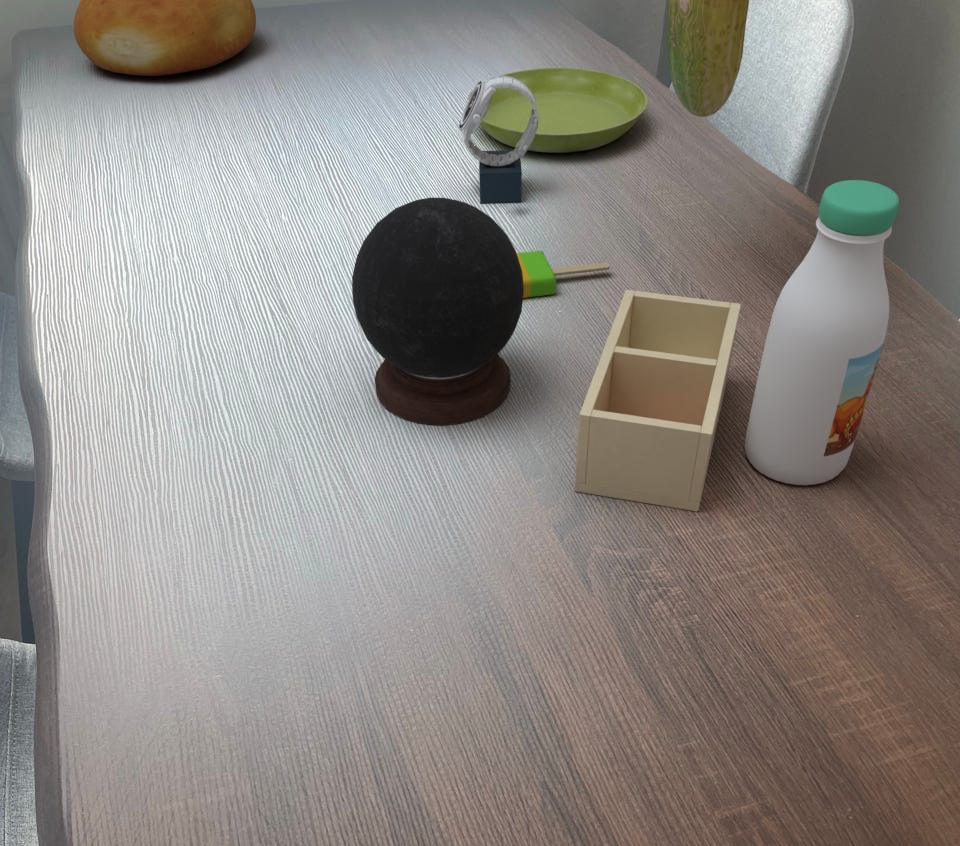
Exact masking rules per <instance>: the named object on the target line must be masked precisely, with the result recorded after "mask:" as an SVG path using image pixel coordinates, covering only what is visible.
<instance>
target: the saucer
mask: <svg viewBox="0 0 960 846" xmlns="http://www.w3.org/2000/svg"><path fill="white" fill-rule="evenodd" d="M499 76H500V78H501V76H509V77H513V78H516V79H518V80H520V81H521V82H523V83H524V84H525V85H526V86H527V87H528V88H529V89H530V91H531V92H532V94H533V96H534V98H535V101H536V105H537V113H538V118H539V124H538V128H537V131H536V134H535V137H534V139H533V141H532V143H531V145H530V147H529V148H528V150H527V152H528V151H529V152H536V153H548V154H549V153H550V154H552V153H553V154H563V153H565V154H566V153H575V152H584V151H588V150H593V149H597V148H600V147H602V146H605V145H608V144H610V143H612V142H614V141H615V140H617V139H619V138H620V137H622V136H623V135H625V133H626V132H628V131H629V130H630V129H631V128H632V127H633V126H634V125H635V124H636V123H637V121H638V120H639V119H640V118H641V116H642V115H643V113H644V111H645V110H646V108H647V106H648V96H647V93H646V92H645V91H644V90H643V89H642V87H640V85H638V84H636V83H634V82H633V81H631V80H629V79H626V78H624V77H621V76H618V75H615V74H612V73H607V72H604V71H600V70H599V71H598V70H592V69H584V68H575V67H573V68H572V67H545V68H532V69H524V70H518V71H512V72H509V73H505V74H501V75H499ZM503 82H504V81H503ZM472 92H473V90H472V91H470V93H469V94H468V97H467V102H468V99H469V97H470V95H471V94H472ZM467 102H466V103H467ZM532 109H533V107H532V105H531V102H530V101H529V100H528V99H527V98H526V96H525V95H523V94H522V93H520V92H519V90H514V89H511V88H502V87H500V88H496V91H495V93H494V94H493V96H492V99H491V102H490V105H489V108H488V110H487V112H486V115H485V117H484V119H483V121H482V122H481V124H480V126H479V127H481V129H483V130H484V131H485V132H486V133H487V135H489V136H491V137H492V138H493V139H495V140H496V141H498V142H500V143H502V144H504V145H507V146H509V147H512V148H514V149H515V148H516V145H517V143H518V141H519V140H520V138H521V137H522V135H523V133H524V132H525V129H526V127H527V125H528V122H529V119H530V116H531V110H532Z"/></svg>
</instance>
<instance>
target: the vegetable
mask: <svg viewBox="0 0 960 846" xmlns="http://www.w3.org/2000/svg"><path fill="white" fill-rule="evenodd" d="M749 5H750V0H667V57H668V66H669V72H670V79H671V83H672V86H673V87H672V88H673V89H674V93H675V95H676V97H677V99H678V101H679V102H680V103H681V105H682V106H683V108H684V109H685V110H686V111H687V112H688V113H689V114H691V115H693V116H696V117H699V118H707V117H710V116H712V115H713V116H714V114H716V113H717V112H719V111H720V110H721V109H722V108H723V107H724V106H725V104H726V103H727V101H728V100H729V98H730V96H731V95H732V93H733V89H734V86H735V84H736V81H737V79H738V75H739V73H740V69H741V66H742V59H743V54H744V45H745V38H746V37H745V36H746V27H747V19H748V12H749Z"/></svg>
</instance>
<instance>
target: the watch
mask: <svg viewBox="0 0 960 846" xmlns="http://www.w3.org/2000/svg"><path fill="white" fill-rule="evenodd" d="M500 76H501V75H495V76H490V77H488V78H487V79H486V80H484V81H483V80H480V81H478V82H477V84H476V85H475V87H474V88H473V89H472V91H473V92H472V91H471V92H472V94H471V95H470V97H469V96H468V97H469V99H468V98H467V100H468V102H466V104H465V107H464V108H463V111H462V114H461V117H460V121H459V126H458V128H459V130H460V131H463V142H464V145H465V146H466V148H467V150H468V152H469V153H470V155H472V157H473V158H474V159H476V161H478V184H479V185H478V186H479V187H478V188H479V203H480V204H511V203H512V204H513V203H514V204H515V203H522V188H523V187H522V185H523V184H522V183H523V182H522V181H523V180H522V179H523V171H522V170H523V169H522V158H523V157H524V156H525V155H526V153H527V152H528V148H529V147H530V145H531V143H532V141H533V139H534V137H535V134H536V131H537V128H538V124H539V118H538V113H537V105H536V101H535V98H534V96H533V94H532V92H531V91H530V89H529V88H528V87H527V86H526V85H525V84H524V83H523V82H521V81H520V80H518V79H516V78H513V77H509V76H501V78H500ZM503 81H504V82H503ZM500 87H502V88H511V89H514V90H519V92H520V93H522V94H523V95H525V96H526V98H527V99H528V100H529V101H530V102H531V105H532V107H533V109H532V110H531V116H530V119H529V122H528V125H527V127H526V129H525V132H524V133H523V135H522V137H521V138H520V140H519V141H518V143H517V145H516V148H515V147H514V149H501V150H498V149H497V150H481V148H479V147H478V146H477V145H475V143H474V142H473V140H472V139H471V135H472V134H474V133H475V132H476V131H477V130H478V129H479V128H480V127H481V126H480V124H481V122H482V121H483V119H484V117H485V115H486V112H487V110H488V108H489V105H490V102H491V99H492V96H493V94H494V93H495V91H496V88H500Z"/></svg>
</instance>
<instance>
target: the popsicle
mask: <svg viewBox="0 0 960 846" xmlns="http://www.w3.org/2000/svg"><path fill="white" fill-rule="evenodd" d="M516 253H517V256H518V260H519V263H520V266H521V269H522V273H523V284H524V293H523V299H526V298H533V297H541V296H551V295H554V294H555V293H556V290H557V278H556V277H557V276H565V275H566V276H567V275H574V274H575V275H577V274H583V273H593V272H600V271H602V272H603V271H608V270H610V268H611V265H610V263H609V262H607V261H605V262H596V263H586V264H579V265H570V266H569V265H568V266H561V267H551V265H550V264H549V261H548V259H547V257H546V255H545V252H544V251H543V250H534V251H526V252H516Z"/></svg>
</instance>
